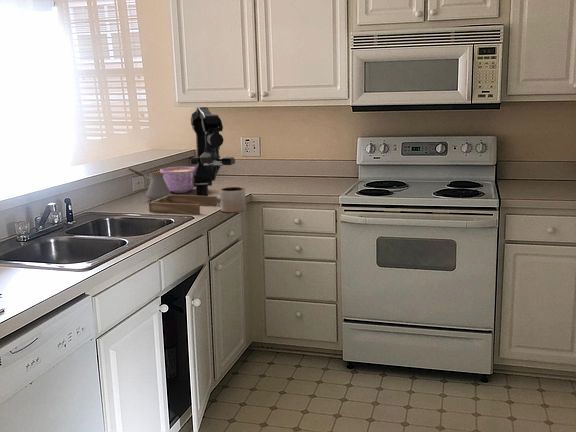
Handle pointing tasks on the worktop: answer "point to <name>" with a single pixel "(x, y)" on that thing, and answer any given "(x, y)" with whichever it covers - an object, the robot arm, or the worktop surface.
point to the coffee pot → (155, 186)
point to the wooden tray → (181, 203)
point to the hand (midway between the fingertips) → (213, 180)
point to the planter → (232, 199)
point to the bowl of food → (178, 178)
